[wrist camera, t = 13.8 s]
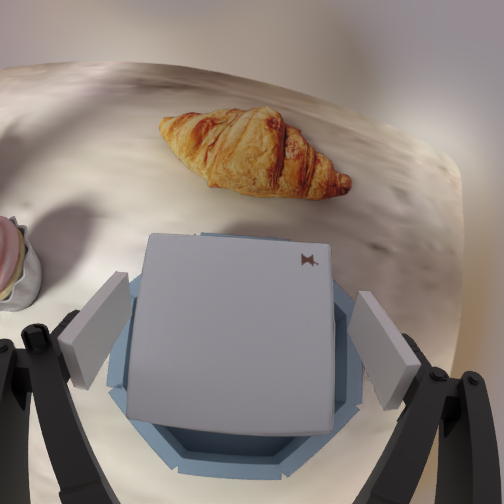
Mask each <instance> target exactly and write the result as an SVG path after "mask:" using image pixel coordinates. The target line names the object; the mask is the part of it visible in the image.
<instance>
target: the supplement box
mask: <svg viewBox="0 0 504 504" xmlns="http://www.w3.org/2000/svg"><path fill="white" fill-rule="evenodd" d="M334 394H335V321H334V300H333V280H332V263H331V246H330V245H329V244H324V243H304V242H288V241H273V240H259V239H245V238H230V237H215V236H198V235H181V234H164V233H153V234H150V235H149V239H148V244H147V249H146V253H145V258H144V263H143V268H142V274H141V279H140V285H139V292H138V298H137V304H136V311H135V318H134V326H133V334H132V342H131V351H130V361H129V373H128V387H127V406H126V418H127V419H131V420H137V421H142V422H148V423H153V424H158V425H164V426H170V427H177V428H183V429H191V430H198V431H206V432H215V433H226V434H238V435H254V436H322V435H329V434H330V433H331V432H332V430H333V426H334Z"/></svg>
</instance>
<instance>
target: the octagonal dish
mask: <svg viewBox="0 0 504 504" xmlns="http://www.w3.org/2000/svg"><path fill="white" fill-rule="evenodd" d="M194 235H196V234H194ZM200 236H215V237H230V238H245V239H259V240H273V241H288V242H291V240H288V239H276V238H265V237H252V236H240V235H227V234H215V233H201V235H200ZM140 279H141V274H140V275H139V276H138V277H137V278H135V279H134V280H133V281H131V282H130V283H129V290H130V300H131V309H132V316H131V317H130V319H129V321H128V322H127V324H126V325H125V327H124V329H123V330H122V332H121V334H120V335H119V337H118V339H117V340H116V342H115V344H114V346H113V347H112V349H111V351H110V357H109V366H108V375H107V385H106V386H109V387H113V389H112V390H110V391H109V392H108V393H109V394H110V396H111V397H112V398H113V400H114V401H115V403H116V404H117V405H118V407H119V408H120V409H121V411H122V412H123V413H124V415H125V416H126V406H127V387H128V373H129V361H130V351H131V342H132V334H133V326H134V318H135V311H136V304H137V298H138V292H139V285H140ZM332 280H333V279H332ZM333 300H334V321H335V394H334V426H333V430H332V432H331V433H330V434H329V435H322V436H254V435H238V434H226V433H215V432H206V431H198V430H191V429H183V428H177V427H170V426H164V425H158V424H153V423H148V422H142V421H137V420H131V419H128V420H129V421H130V422H131V424H132V425H133V426H134V428H135V429H136V430H137V431H138V432H139V434H140V435H141V436H142V437H143V438H144V440H145V441H146V442H147V443H148V444H149V446H150V447H151V448H152V449H153V450H154V451H155V452H156V453H157V455H158V456H159V457H160V458H161V459H162V460H163V461H164V462H165V463H166V464H167V465H168V467H169V468H170V469H171V470H172V469H174V468H175V467H177V466H178V473H181V474H188V475H196V476H205V477H215V478H227V479H247V480H281V477H282V473H283V474H284V475H285V476H287V477H289V476H290V475H291V474H293V473H294V472H295V471H296V470H297V469H298V468H300V467H301V466H302V465H303V464H304V463H305V462H307V461H308V460H309V459H310V458H311V457H312V456H313V455H314V454H316V453H317V452H318V451H319V450H320V449H321V448H322V447H323V446H324V445H325V444H326V443H327V442H328V441H329V440H331V439H332V438H333V437H334V436H335V435H336V434H337V433H338V432H339V431H340V430H341V429H342V428H343V427H344V426H345V425H346V424H347V423H348V422H349V420H350V419H351V418H352V417H353V416H354V415H355V414H356V413H357V412H358V411H359V409H358V408H357V407H356V406H355V405H356V404H362V377H363V363H362V361H361V358H360V356H359V354H358V352H357V350H356V348H355V345H354V343H353V341H352V339H351V337H350V335H349V333H348V327H349V324H350V320H351V317H352V313H353V309H354V306H355V302H354V301H353V300H352V299H351V298H350V296H349V295H348V294H347V293H346V292H345V291H344V290H343V289H342V288H341V287H340V286H339V285H338V284H337V283H336V282H335V281H334V280H333Z"/></svg>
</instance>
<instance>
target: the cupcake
mask: <svg viewBox="0 0 504 504" xmlns="http://www.w3.org/2000/svg"><path fill="white" fill-rule="evenodd" d="M41 283H42V267H41V263H40V261H39V259H38V257H37V255H36V254H35V252H34V250H33V248H32V246H31V244H30V242H29V237H28V231H27V226H25V225H18V223H17V220H16V218H15V216H13V217H11V218H10V219H7V218H6V217H2V216H0V311H2V310H3V311H11V312H16V311H21V310H23V309H25V308H27V307H28V306H29V305H30V304H31V303H32V302H33V301H34V300H35V298H36V297H37V295H38V293H39V290H40V287H41Z"/></svg>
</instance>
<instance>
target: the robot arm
mask: <svg viewBox="0 0 504 504" xmlns="http://www.w3.org/2000/svg"><path fill="white" fill-rule="evenodd" d="M131 316H132V309H131V300H130V290H129V279H128V273H126V272H117V271H116V272H115V273H114V274H113V275H112V276H111V277H110V278H109V279H108V281H107V282H106V283H105V284H104V285H103V286H102V287H101V288H100V289H99V290H98V291H97V293H96V294H95V295H94V296H93V297H92V298H91V299H90V300H89V302H88V303H87V304H86V305H85V306H84V307H83V308H82V309H81V311H80V310H74V311H72V312H71V313H69V314H67V316H66V317H65V318H64V319H63V321H61V322H60V323H59V325H58V326H57V327H56V328H55V329H54V330H53V331H52V333H51V334H49V330H48V328H47V326H45V325H44V324H39V323H37V324H32V325H29V326H27V327H26V328H24V329H23V331H22V333H21V337H22V340H23V343H24V345H25V348H26V349H17V348H15V346H14V343H13V342H12V341H11V340H10V339H0V504H31V502H30V490H29V473H28V434H29V415H30V403H31V393H33V396H34V401H35V406H36V410H37V415H38V419H39V423H40V427H41V431H42V435H43V438H44V442H45V445H46V449H47V452H48V455H49V458H50V461H51V464H52V467H53V470H54V473H55V476H56V478H57V481H58V484H59V486H60V490H61V491H60V492H59V497H60V500H61V503H62V504H120V502H119V500H118V498H117V497H116V495H115V493H114V491H113V490H112V488H111V486H110V484H109V482H108V480H107V479H106V477H105V475H104V473H103V471H102V469H101V467H100V465H99V463H98V461H97V459H96V456H95V454H94V452H93V450H92V448H91V446H90V443H89V441H88V439H87V436H86V434H85V432H84V429H83V427H82V424H81V422H80V419H79V416H78V414H77V411H76V408H75V406H74V403H73V400H72V397H71V394H70V391H69V388H68V386H67V382H68V380H69V379H70V378H71V381H72V383H73V386H74V387H76V388H80V389H83V390H87V391H88V390H89V388H90V386H91V384H92V382H93V381H94V379H95V377H96V375H97V373H98V372H99V370H100V368H101V366H102V365H103V363H104V361H105V359H106V358H107V356H108V354H109V352H110V351H111V349H112V347H113V346H114V344H115V342H116V340H117V339H118V337H119V335H120V334H121V332H122V330H123V329H124V327H125V325H126V324H127V322H128V321H129V319H130V317H131ZM348 333H349V335H350V337H351V339H352V341H353V343H354V345H355V348H356V350H357V352H358V354H359V356H360V358H361V361H362V363H363V365H364V367H365V369H366V372H367V374H368V376H369V378H370V381H371V383H372V385H373V387H374V390H375V392H376V394H377V396H378V399H379V401H380V403H381V406H382V408H383V410H384V411H385V410H393V409H398V407H399V406H400V404H401V402H402V400H403V401H404V403H405V405H406V406H405V408H404V410H403V411H402V413H401V415H400V416H399V418H398V420H397V422H398V423H397V425H396V427H395V429H394V431H393V433H392V435H391V437H390V439H389V441H388V443H387V445H386V447H385V449H384V451H383V453H382V455H381V457H380V459H379V460H378V462H377V464H376V466H375V468H374V469H373V471H372V473H371V475H370V476H369V478H368V480H367V481H366V483H365V485H364V486H363V488H362V489H361V491H360V493H359V494H358V496H357V497H356V499H355V500H354V502H353V503H352V504H409V503H410V501H411V498H412V496H413V494H414V492H415V489H416V487H417V485H418V482H419V480H420V477H421V475H422V472H423V470H424V467H425V464H426V462H427V459H428V456H429V453H430V450H431V447H432V444H433V441H434V438H435V435H436V431H437V428H438V425H439V449H438V471H437V484H436V496H435V503H434V504H502V503H501V478H500V467H499V457H498V449H497V441H496V435H495V428H494V423H493V417H492V412H491V407H490V402H489V398H488V394H487V389H486V385H485V381H484V379H483V378H482V377H481V375H479V374H478V373H476V372H473V371H467V372H464V374H463V375H462V377H461V379H455V378H449V376H448V374H447V373H446V372H445V371H444V370H442V369H441V368H438V367H432V366H431V364H430V363H429V361H428V360H427V359H426V357H425V356H424V354H423V353H422V352H421V350H420V349H419V347H417V344H416V343H415V342H414V340H413V339H412V338H411V337H409V336H408V335H407V334H401V333H400V332H399V330H398V329H397V328H396V326H395V325H394V323H393V322H392V320H391V319H390V318H389V316H388V315H387V313H386V312H385V311H384V309H383V308H382V307H381V305H380V304H379V302H378V301H377V300H376V298H375V297H374V296H373V294H372V293H371V292H370V291H358V294H357V298H356V302H355V306H354V309H353V313H352V317H351V320H350V324H349V327H348Z"/></svg>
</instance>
